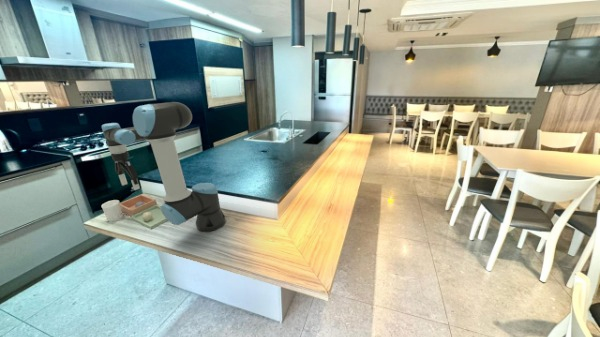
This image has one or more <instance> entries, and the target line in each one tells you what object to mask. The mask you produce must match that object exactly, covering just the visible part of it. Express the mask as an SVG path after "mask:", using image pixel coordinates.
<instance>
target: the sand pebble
mask: <svg viewBox="0 0 600 337" xmlns="http://www.w3.org/2000/svg"><path fill="white" fill-rule="evenodd" d="M152 217H153V214H152V213H151V212H145V213H144V214H143V215H142V219H143V220H145V221H149V220H151V219H152Z"/></svg>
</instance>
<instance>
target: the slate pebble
mask: <svg viewBox="0 0 600 337" xmlns="http://www.w3.org/2000/svg"><path fill="white" fill-rule="evenodd" d="M143 204H145V203H144V202H137V203H136V205H135V208H136V207H138V206H141V205H143Z"/></svg>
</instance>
